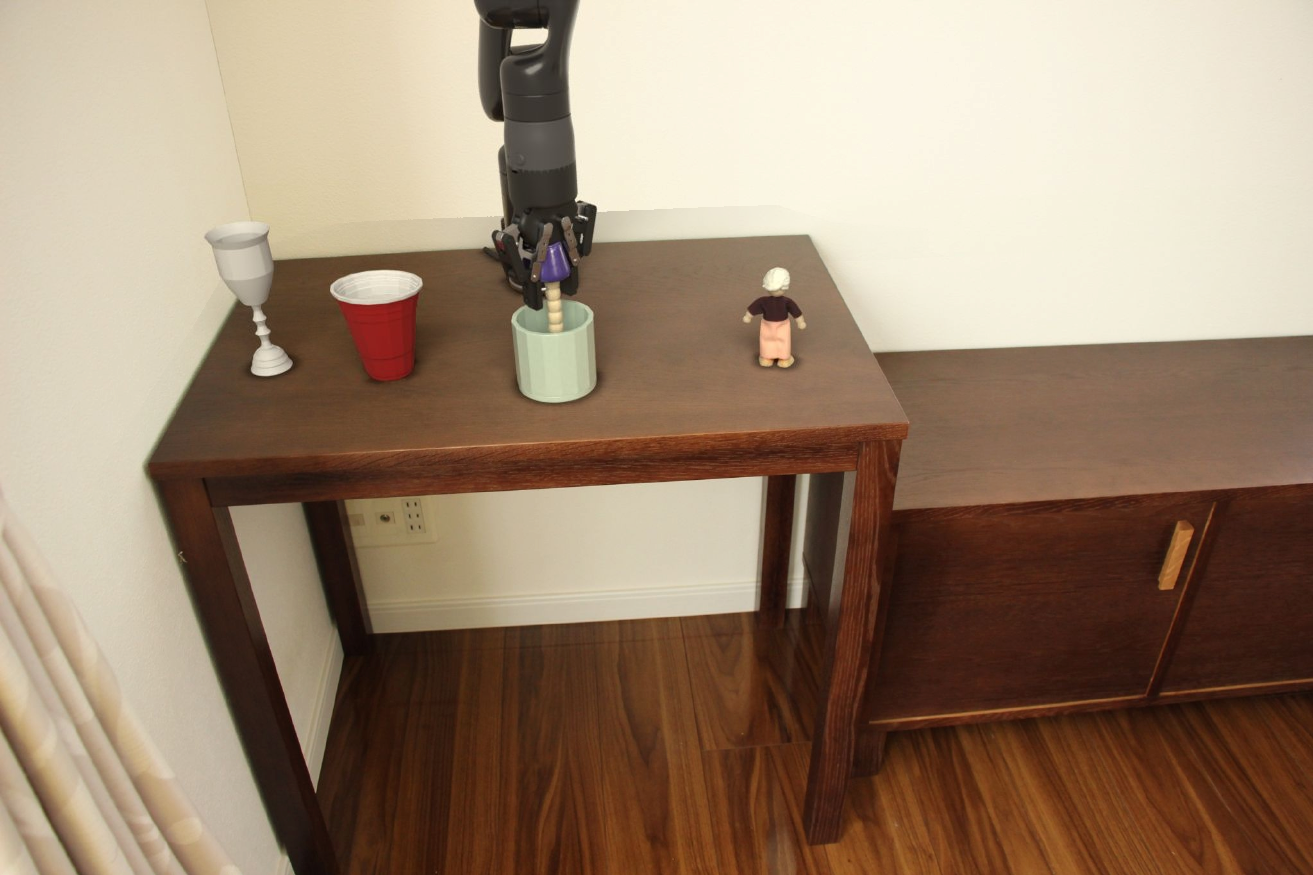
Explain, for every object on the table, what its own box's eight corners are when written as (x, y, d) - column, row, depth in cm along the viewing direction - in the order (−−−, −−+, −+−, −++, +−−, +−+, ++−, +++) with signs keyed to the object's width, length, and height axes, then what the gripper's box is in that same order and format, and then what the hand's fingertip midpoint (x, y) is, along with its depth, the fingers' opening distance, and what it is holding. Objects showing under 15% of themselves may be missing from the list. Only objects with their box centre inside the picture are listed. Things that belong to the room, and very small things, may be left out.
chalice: (245, 384, 122) (207, 247, 112) (237, 361, 127) (200, 228, 117) (306, 370, 125) (274, 235, 115) (296, 348, 130) (264, 217, 120)
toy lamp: (570, 381, 118) (562, 250, 109) (533, 377, 119) (522, 247, 110) (581, 362, 122) (573, 234, 113) (545, 359, 123) (534, 231, 114)
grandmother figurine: (800, 354, 127) (807, 262, 120) (803, 368, 124) (811, 275, 117) (740, 354, 127) (744, 262, 120) (742, 369, 124) (746, 275, 117)
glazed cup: (502, 383, 121) (495, 317, 116) (561, 356, 127) (556, 292, 122) (554, 411, 116) (548, 343, 111) (612, 381, 121) (610, 315, 116)
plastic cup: (451, 356, 127) (438, 269, 121) (406, 396, 119) (391, 306, 112) (378, 344, 130) (362, 259, 124) (330, 383, 122) (310, 294, 115)
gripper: (567, 135, 112) (575, 273, 122) (465, 164, 104) (483, 311, 113) (612, 148, 108) (618, 291, 117) (511, 180, 100) (525, 331, 109)
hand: (551, 300), depth 115 cm, fingers closed on toy lamp, 4 cm apart
